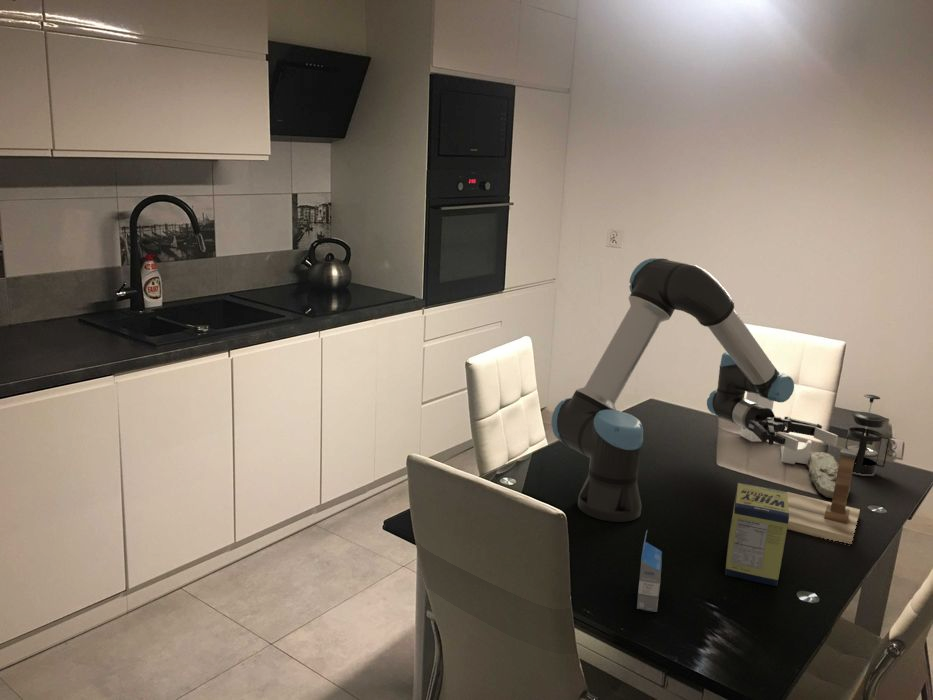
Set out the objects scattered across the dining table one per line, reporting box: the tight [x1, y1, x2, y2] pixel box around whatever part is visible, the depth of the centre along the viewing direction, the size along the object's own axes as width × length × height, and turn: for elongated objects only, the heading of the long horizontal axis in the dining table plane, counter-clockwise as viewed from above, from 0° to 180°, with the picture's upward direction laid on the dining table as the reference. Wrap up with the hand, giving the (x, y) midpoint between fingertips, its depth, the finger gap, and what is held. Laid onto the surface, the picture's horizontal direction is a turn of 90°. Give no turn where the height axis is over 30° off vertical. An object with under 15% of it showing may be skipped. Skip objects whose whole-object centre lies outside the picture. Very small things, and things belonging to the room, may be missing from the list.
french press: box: [844, 394, 891, 474], centre depth 231 cm, size 12×9×23 cm
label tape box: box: [636, 529, 663, 613], centre depth 152 cm, size 9×4×12 cm, turn 164°
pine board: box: [787, 491, 861, 545], centre depth 197 cm, size 20×21×2 cm
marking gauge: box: [824, 447, 857, 524], centre depth 192 cm, size 5×5×17 cm
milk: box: [740, 392, 775, 443], centre depth 255 cm, size 6×6×22 cm
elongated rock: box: [806, 451, 852, 499], centre depth 226 cm, size 35×5×10 cm
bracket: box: [780, 439, 812, 465], centre depth 241 cm, size 13×7×8 cm, turn 160°
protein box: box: [724, 481, 789, 587], centre depth 169 cm, size 10×16×16 cm
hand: (816, 443), depth 199 cm, fingers open, 13 cm apart
